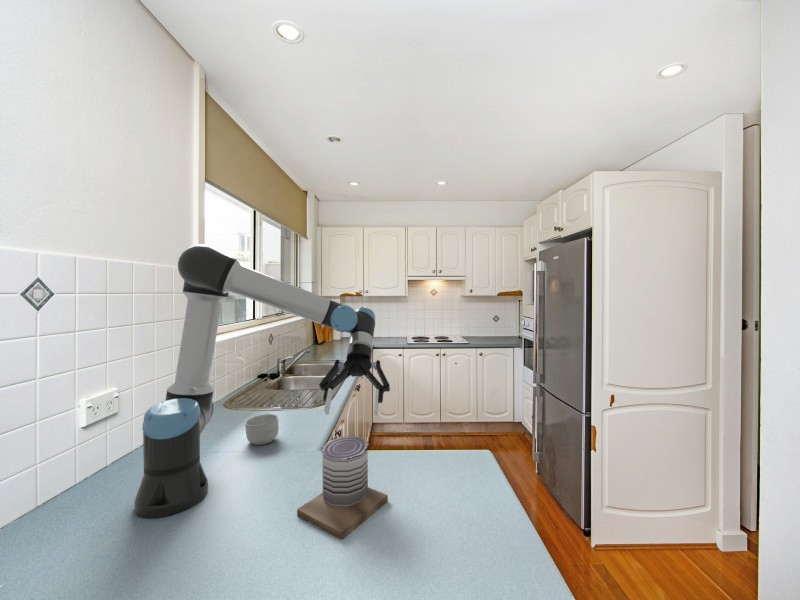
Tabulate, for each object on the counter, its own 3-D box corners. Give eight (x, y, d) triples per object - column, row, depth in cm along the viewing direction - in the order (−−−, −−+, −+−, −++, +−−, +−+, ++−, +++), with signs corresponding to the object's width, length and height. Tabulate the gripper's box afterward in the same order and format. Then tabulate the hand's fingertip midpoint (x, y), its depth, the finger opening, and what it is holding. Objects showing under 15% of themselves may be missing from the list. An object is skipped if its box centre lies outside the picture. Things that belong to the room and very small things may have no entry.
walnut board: (341, 539, 70) (341, 532, 70) (297, 515, 77) (297, 509, 77) (387, 501, 83) (387, 495, 83) (345, 483, 91) (345, 478, 91)
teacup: (271, 448, 112) (271, 424, 112) (239, 448, 113) (238, 424, 113) (286, 432, 126) (286, 410, 126) (257, 431, 127) (257, 410, 127)
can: (376, 496, 82) (376, 447, 82) (333, 513, 76) (332, 460, 76) (355, 476, 92) (354, 432, 92) (314, 490, 85) (314, 442, 85)
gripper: (399, 356, 109) (397, 419, 94) (323, 356, 110) (308, 418, 95) (399, 342, 104) (396, 406, 89) (318, 341, 105) (302, 405, 90)
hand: (351, 412), depth 92 cm, fingers open, 13 cm apart
